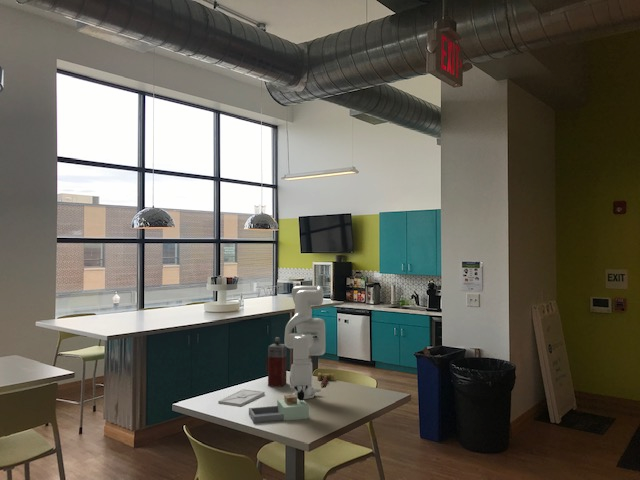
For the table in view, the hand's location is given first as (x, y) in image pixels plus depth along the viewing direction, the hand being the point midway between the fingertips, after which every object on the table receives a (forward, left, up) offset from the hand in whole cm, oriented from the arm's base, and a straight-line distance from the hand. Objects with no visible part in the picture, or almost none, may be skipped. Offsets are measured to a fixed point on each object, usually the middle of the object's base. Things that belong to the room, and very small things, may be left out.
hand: (300, 399), depth 250 cm
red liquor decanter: (-1, -61, -7) cm, 61 cm away
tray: (+17, 0, -7) cm, 18 cm away
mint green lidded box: (+4, 0, -7) cm, 8 cm away
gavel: (-30, -55, -8) cm, 63 cm away
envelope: (+23, -35, -8) cm, 43 cm away
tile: (+5, 0, -1) cm, 5 cm away
